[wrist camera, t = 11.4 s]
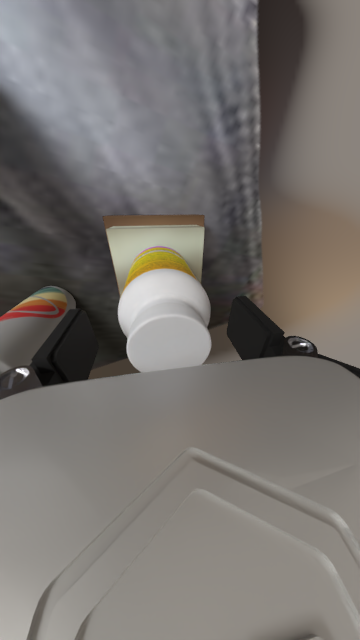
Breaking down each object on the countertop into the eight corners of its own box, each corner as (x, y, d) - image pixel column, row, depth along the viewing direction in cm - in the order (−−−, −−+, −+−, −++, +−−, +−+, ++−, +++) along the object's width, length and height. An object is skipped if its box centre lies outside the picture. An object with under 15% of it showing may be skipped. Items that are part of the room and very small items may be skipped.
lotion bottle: (45, 277, 26) (-150, 402, 9) (82, 298, 28) (-15, 424, 12) (32, 304, 27) (-150, 447, 11) (68, 321, 30) (-34, 458, 13)
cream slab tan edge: (109, 215, 22) (92, 217, 16) (197, 214, 24) (214, 216, 17) (125, 297, 29) (118, 322, 22) (193, 292, 30) (205, 315, 24)
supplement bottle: (118, 261, 18) (73, 333, 8) (172, 232, 18) (205, 267, 7) (149, 308, 22) (148, 401, 11) (195, 286, 21) (241, 363, 11)
